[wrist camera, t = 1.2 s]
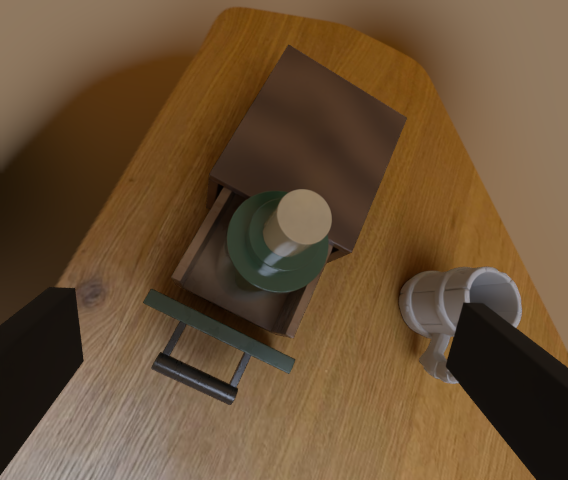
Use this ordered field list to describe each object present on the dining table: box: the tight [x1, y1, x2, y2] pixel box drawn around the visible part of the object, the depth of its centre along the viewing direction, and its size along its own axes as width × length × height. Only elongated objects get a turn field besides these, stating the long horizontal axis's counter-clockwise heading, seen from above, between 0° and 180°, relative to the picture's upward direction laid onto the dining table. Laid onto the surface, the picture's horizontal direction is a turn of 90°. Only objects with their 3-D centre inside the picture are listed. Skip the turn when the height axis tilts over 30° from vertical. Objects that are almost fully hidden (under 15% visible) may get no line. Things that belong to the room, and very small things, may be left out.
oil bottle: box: [215, 189, 332, 302], centre depth 25 cm, size 7×7×18 cm
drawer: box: [143, 187, 333, 405], centre depth 31 cm, size 19×13×7 cm
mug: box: [399, 267, 522, 384], centre depth 34 cm, size 8×12×12 cm, turn 163°
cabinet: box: [206, 45, 407, 263], centre depth 35 cm, size 16×14×9 cm
